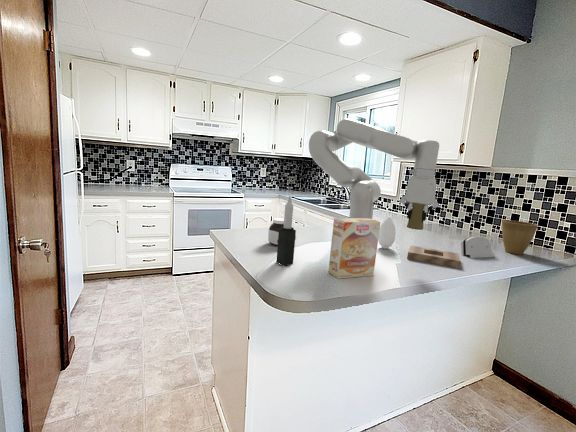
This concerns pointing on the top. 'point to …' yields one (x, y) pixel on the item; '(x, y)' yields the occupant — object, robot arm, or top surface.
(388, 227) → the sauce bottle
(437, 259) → the tan flat frame
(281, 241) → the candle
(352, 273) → the coffeecake box
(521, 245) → the plant pot
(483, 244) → the grey piece
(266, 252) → the top surface
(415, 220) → the cork
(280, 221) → the spread jar
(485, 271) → the top surface
